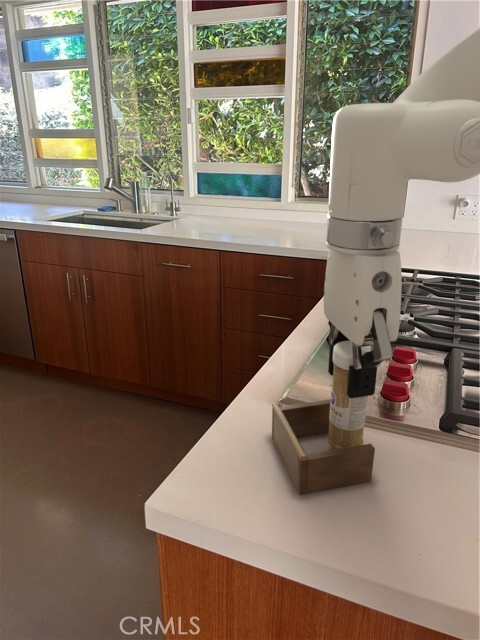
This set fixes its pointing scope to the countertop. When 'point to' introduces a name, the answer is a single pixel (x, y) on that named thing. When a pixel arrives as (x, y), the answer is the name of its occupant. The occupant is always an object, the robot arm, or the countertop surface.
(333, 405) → the sprinkles bottle
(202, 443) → the countertop surface
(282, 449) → the u-shaped bracket
